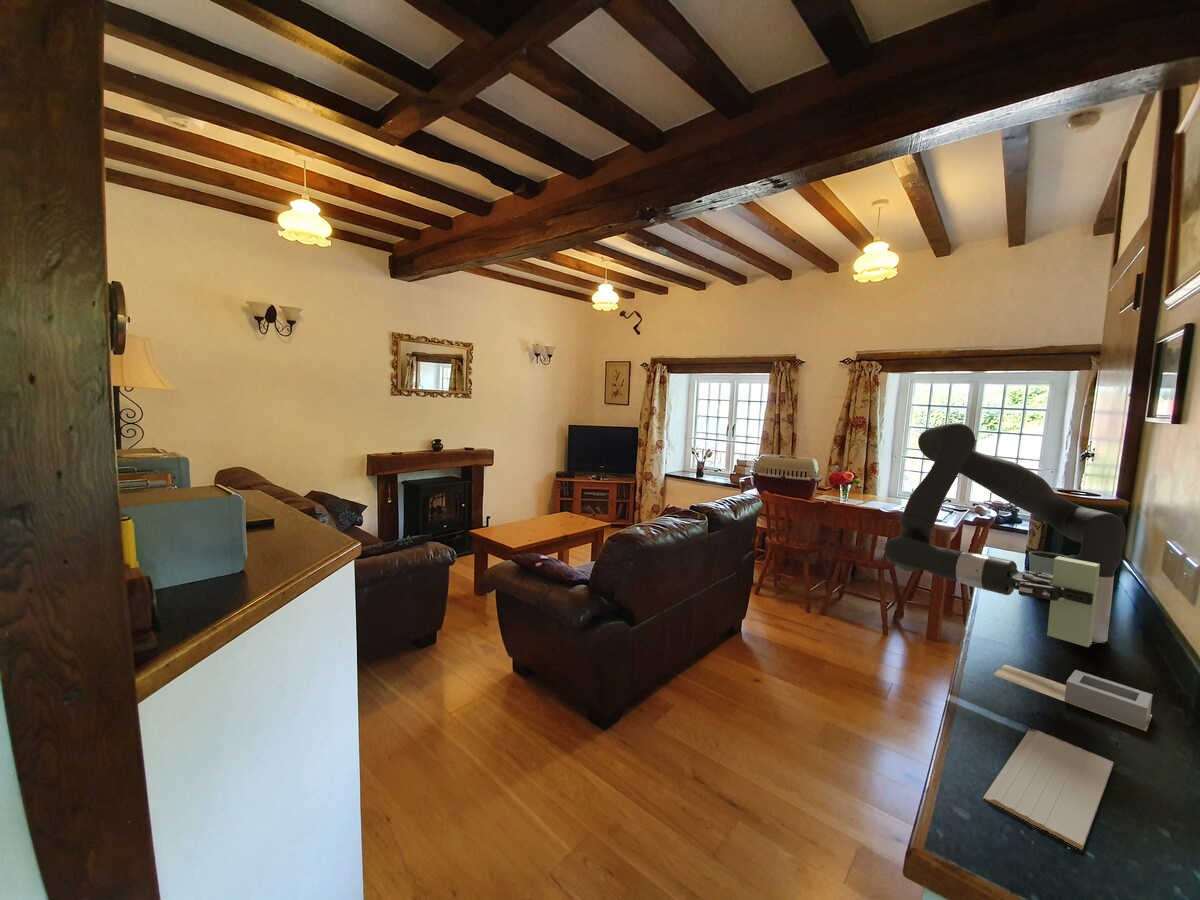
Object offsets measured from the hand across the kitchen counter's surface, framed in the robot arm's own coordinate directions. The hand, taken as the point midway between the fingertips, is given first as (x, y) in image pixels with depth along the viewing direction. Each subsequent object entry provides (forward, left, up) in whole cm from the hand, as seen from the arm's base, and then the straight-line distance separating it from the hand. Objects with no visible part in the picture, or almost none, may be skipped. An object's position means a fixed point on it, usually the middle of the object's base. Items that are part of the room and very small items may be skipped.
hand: (1094, 597), depth 94 cm
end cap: (0, +3, -21) cm, 21 cm away
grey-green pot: (-78, -21, -22) cm, 84 cm away
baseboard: (+30, +1, -23) cm, 38 cm away
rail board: (0, -2, -22) cm, 22 cm away
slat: (0, -3, -10) cm, 10 cm away
